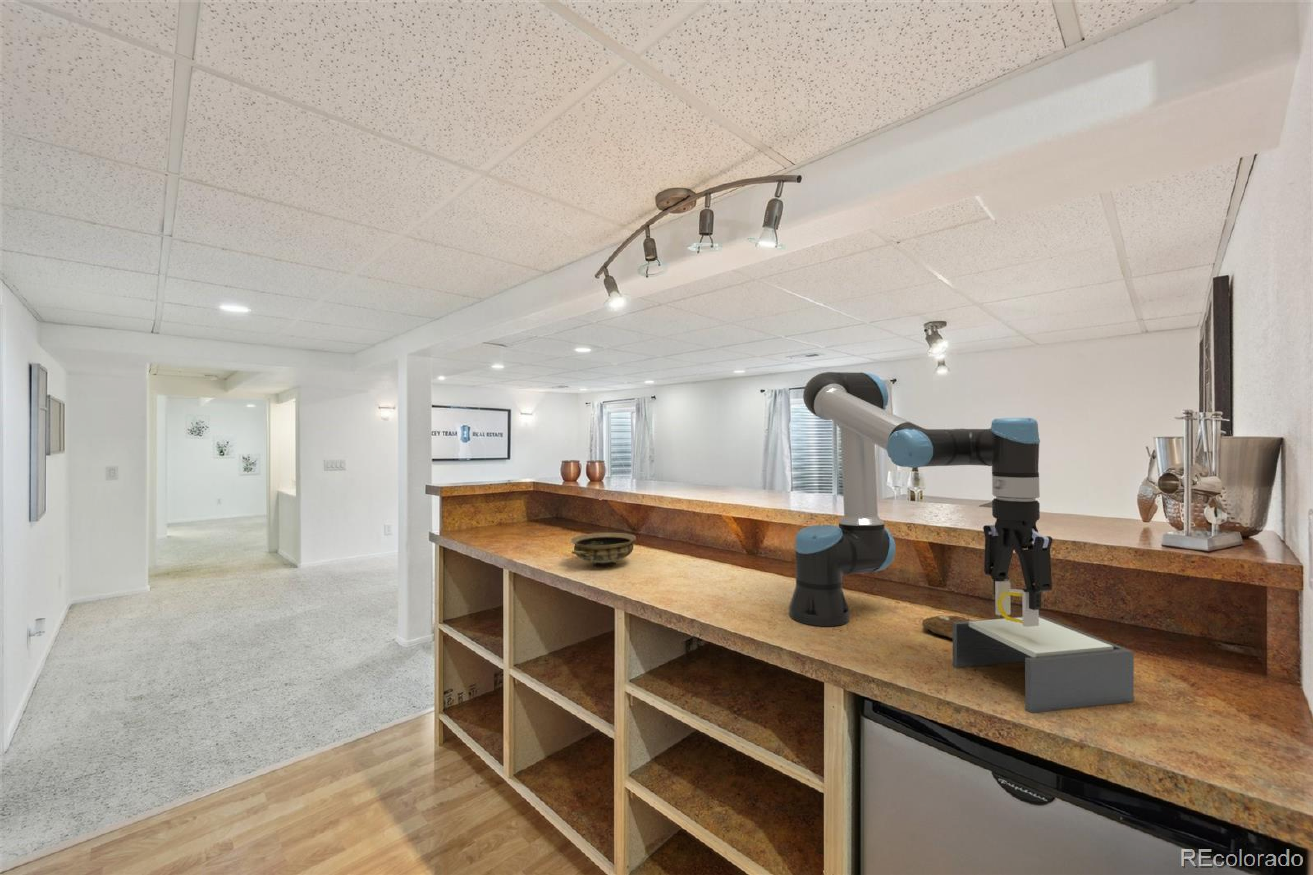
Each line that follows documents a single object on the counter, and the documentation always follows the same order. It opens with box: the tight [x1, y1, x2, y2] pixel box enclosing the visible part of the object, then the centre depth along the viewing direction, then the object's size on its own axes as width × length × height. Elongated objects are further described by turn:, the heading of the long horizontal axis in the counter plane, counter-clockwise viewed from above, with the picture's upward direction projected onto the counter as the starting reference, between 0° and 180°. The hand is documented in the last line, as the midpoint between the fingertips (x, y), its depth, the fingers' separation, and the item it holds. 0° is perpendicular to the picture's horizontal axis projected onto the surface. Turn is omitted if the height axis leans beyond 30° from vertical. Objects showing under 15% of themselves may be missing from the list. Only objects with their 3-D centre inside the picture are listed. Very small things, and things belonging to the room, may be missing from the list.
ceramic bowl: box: [570, 532, 637, 568], centre depth 198 cm, size 30×24×10 cm
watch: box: [997, 588, 1023, 624], centre depth 102 cm, size 6×3×6 cm, turn 40°
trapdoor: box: [969, 616, 1113, 657], centre depth 103 cm, size 16×16×1 cm
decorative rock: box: [921, 615, 974, 640], centre depth 127 cm, size 11×4×15 cm
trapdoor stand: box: [952, 614, 1135, 714], centre depth 103 cm, size 19×21×9 cm
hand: (1016, 619), depth 102 cm, fingers closed on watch, 6 cm apart
